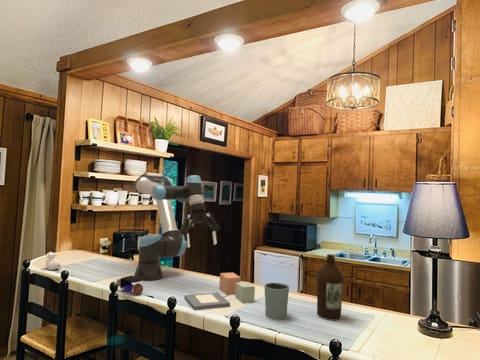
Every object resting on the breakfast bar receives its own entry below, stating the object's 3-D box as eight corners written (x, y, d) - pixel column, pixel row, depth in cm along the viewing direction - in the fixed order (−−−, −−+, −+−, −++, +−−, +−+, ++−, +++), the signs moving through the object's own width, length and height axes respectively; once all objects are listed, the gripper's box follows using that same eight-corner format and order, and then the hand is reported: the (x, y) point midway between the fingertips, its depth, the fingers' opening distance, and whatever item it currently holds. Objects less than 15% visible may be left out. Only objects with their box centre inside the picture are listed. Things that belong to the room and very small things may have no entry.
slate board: (184, 298, 156) (184, 294, 156) (217, 295, 162) (217, 291, 162) (193, 310, 141) (194, 306, 141) (230, 306, 148) (230, 302, 148)
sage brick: (235, 297, 160) (235, 282, 161) (246, 296, 163) (247, 281, 163) (242, 303, 153) (242, 287, 153) (254, 301, 155) (254, 286, 156)
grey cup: (271, 321, 132) (273, 290, 133) (258, 312, 141) (259, 283, 142) (293, 318, 137) (294, 287, 137) (279, 309, 146) (280, 281, 146)
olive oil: (311, 311, 145) (313, 252, 146) (334, 310, 148) (336, 252, 148) (322, 321, 135) (325, 257, 136) (347, 320, 137) (349, 257, 138)
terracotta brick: (219, 289, 173) (220, 273, 173) (232, 288, 176) (232, 272, 176) (226, 295, 164) (227, 278, 164) (239, 293, 167) (240, 277, 167)
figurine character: (115, 293, 164) (134, 296, 154) (115, 277, 164) (134, 279, 155) (127, 290, 169) (146, 293, 160) (127, 274, 170) (146, 276, 161)
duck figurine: (45, 271, 201) (34, 258, 196) (56, 262, 207) (45, 248, 201) (58, 275, 195) (47, 261, 190) (68, 265, 201) (57, 251, 195)
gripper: (173, 203, 168) (178, 247, 161) (222, 201, 177) (228, 241, 171) (171, 208, 175) (175, 250, 168) (217, 205, 184) (223, 244, 177)
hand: (202, 245), depth 169 cm, fingers open, 13 cm apart
